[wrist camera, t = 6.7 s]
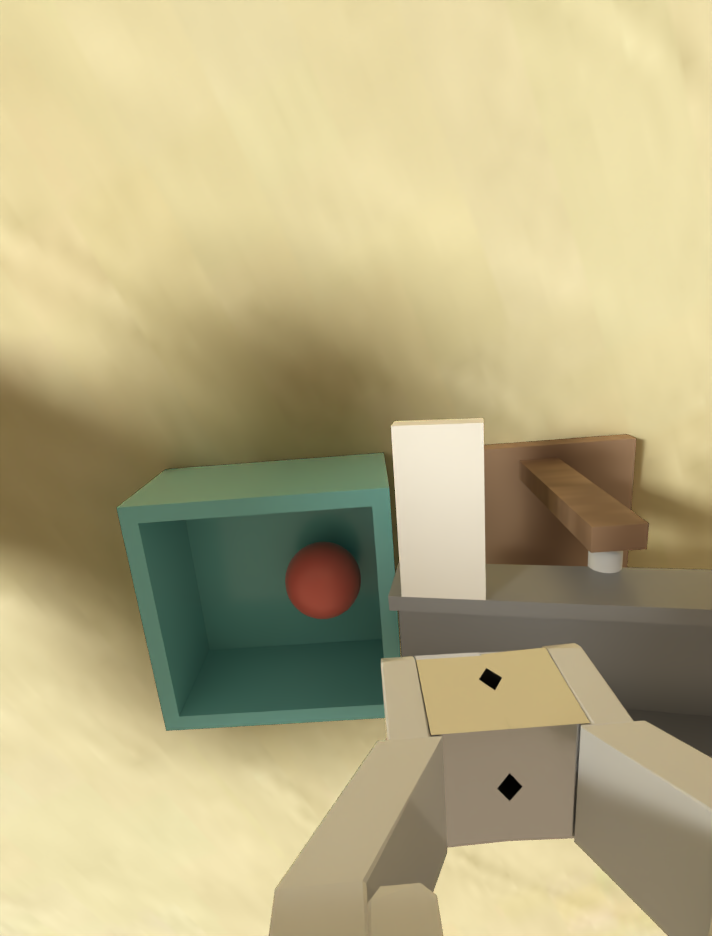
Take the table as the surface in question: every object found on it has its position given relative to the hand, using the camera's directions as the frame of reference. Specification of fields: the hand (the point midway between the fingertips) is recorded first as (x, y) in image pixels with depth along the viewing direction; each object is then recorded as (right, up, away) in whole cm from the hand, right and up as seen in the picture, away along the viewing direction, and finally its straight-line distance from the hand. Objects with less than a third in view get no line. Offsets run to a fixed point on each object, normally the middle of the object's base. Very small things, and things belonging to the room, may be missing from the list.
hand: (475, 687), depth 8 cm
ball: (-4, -3, +19) cm, 20 cm away
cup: (-6, -2, +22) cm, 23 cm away
